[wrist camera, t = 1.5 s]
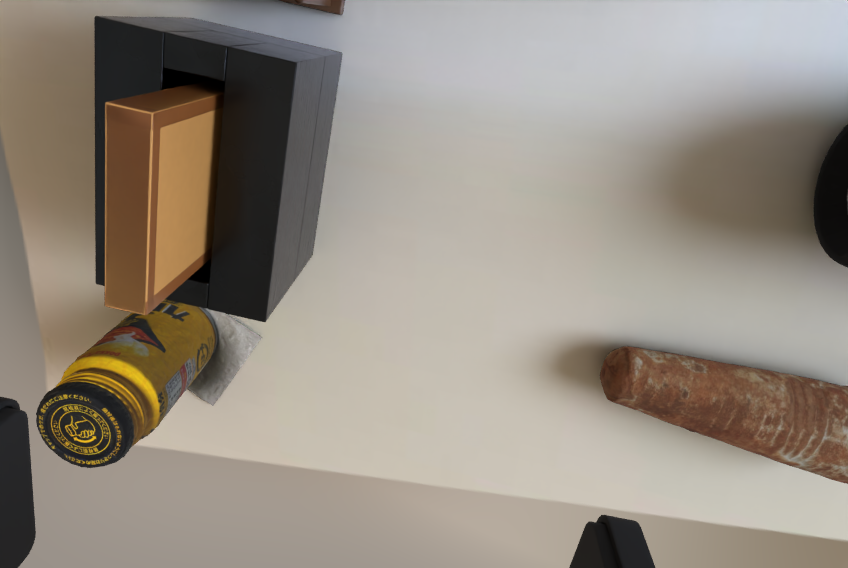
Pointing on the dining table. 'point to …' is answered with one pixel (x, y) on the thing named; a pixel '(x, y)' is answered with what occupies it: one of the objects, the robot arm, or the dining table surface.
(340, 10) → the rack
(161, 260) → the toast
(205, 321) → the condiment
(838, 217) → the portable speaker
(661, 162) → the dining table surface
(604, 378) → the reddish-brown tapered rod
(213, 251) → the toaster
